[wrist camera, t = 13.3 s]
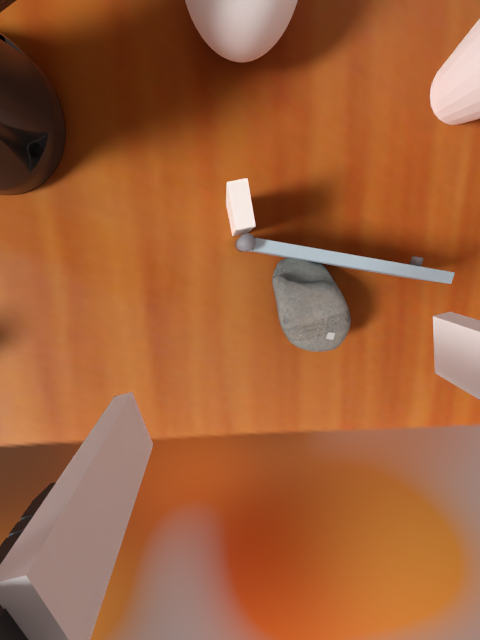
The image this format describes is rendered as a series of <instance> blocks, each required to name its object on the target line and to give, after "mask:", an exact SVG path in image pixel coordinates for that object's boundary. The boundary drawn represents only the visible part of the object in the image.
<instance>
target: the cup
mask: <svg viewBox="0 0 480 640" xmlns="http://www.w3.org/2000/svg"><path fill="white" fill-rule="evenodd" d="M430 102H431V107H432V109H433V112H434V114H435V115H436V116H437V118H438V119H439V120H441V121H442V122H444V123H446V124H450V125H457V124H462V123H466V122H469V121H473V120H477V119H480V19H479V20H478V21H477V22H476V24H475V25H474V26H473V28H472V29H471V30H470V31H469V33H468V34H467V35H466V36H465V38H464V39H463V40H462V41H461V43H460V44H459V45H458V47H457V48H456V49H455V50H454V52H453V53H452V54H451V55H450V57H449V58H448V59H447V60H446V62H445V63H444V64H443V65H442V67H441V68H440V69H439V71H438V72H437V74H436V76H435V77H434V79H433V82H432V86H431V89H430Z"/></svg>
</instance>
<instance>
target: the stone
mask: <svg viewBox="0 0 480 640" xmlns="http://www.w3.org/2000/svg"><path fill="white" fill-rule="evenodd" d="M272 284H273V289H274V293H275V298H276V303H277V310H278V316H279V321H280V325H281V327H282V329H283V332H284V334H285V335H286V337H287V338H288V340H289V341H290V342H291V343H292V344H294V345H295V346H297V347H299V348H301V349H304V350H308V351H316V352H319V351H329V350H333V349H335V348H337V347H338V346H339V345H340V344H341V343H342V342H343V340H344V339H345V337H346V336H347V333H348V331H349V329H350V324H351V317H350V313H349V309H348V306H347V303H346V301H345V299H344V297H343V295H342V293H341V291H340V290H339V288H338V286H337V285H336V283H335V281H334V280H333V278H332V277H331V275H330V273H329V272H328V270H327V269H326V268H325V266H323V265H322V264H320V263H316V262H310V261H305V260H299V259H292V258H286V259H283V260H281V261H280V262H279V263H278V264H277V267H276V269H275V271H274V274H273V278H272Z"/></svg>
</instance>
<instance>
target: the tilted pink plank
mask: <svg viewBox="0 0 480 640" xmlns="http://www.w3.org/2000/svg"><path fill="white" fill-rule="evenodd" d="M226 206H227V211H228V216H229V221H230V226H231V231H232V237H233V236H238V235H243V234H247V233H248V232H249V231H251V230H252V229H253V228H254V227H255V226H256V225H255V219H254V213H253V207H252V202H251V196H250V190H249V184H248V179H247V178H245V179H240V180H235V181H230V182H227V189H226Z"/></svg>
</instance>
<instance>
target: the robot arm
mask: <svg viewBox="0 0 480 640" xmlns="http://www.w3.org/2000/svg"><path fill="white" fill-rule="evenodd" d="M15 1H16V0H0V12H1V11H3V10H4V9H5V8H7V7H8V6H10V5H11V4H12V3H14V2H15ZM64 142H65V123H64V117H63V112H62V108H61V105H60V102H59V99H58V97H57V94H56V92H55V90H54V88H53V86H52V85H51V83H50V81H49V80H48V78H47V77H46V75H45V74H44V73H43V71H42V70H41V69H40V68H39V67H38V66H37V65H36V63H35V62H34V61H33V60H32V59H31V58H30V57H29V56H28V55H27V54H26V53H25V52H24V51H23V50H22V49H21V48H19V47H18V46H17V45H16V44H15V43H14V42H13V41H11V40H10V39H9V38H7V37H6V36H5V35H3V34H2V33H0V195H16V194H21V193H25V192H28V191H30V190H33V189H35V188H36V187H38V186H40V185H41V184H42V183H44V182H45V181H46V180H47V179H48V178H49V177H50V176H51V175H52V173H53V172H54V170H55V169H56V167H57V165H58V163H59V161H60V159H61V156H62V153H63V148H64ZM433 332H434V358H435V373H436V374H437V375H439V376H441V377H442V378H444V379H446V380H447V381H449V382H451V383H452V384H454V385H456V386H457V387H459V388H461V389H462V390H464V391H466V392H467V393H469V394H471V395H473V396H474V397H476V398H478V399H479V400H480V320H477V319H473V318H470V317H466V316H463V315H460V314H456V313H453V312H447V313H443V314H439V315H435V316H433ZM152 447H153V443H152V441H151V438H150V436H149V433H148V430H147V428H146V425H145V423H144V420H143V418H142V415H141V413H140V410H139V408H138V405H137V403H136V400H135V398H134V395H133V393H132V392H130V393H126V394H122V395H119V396H115V397H114V398H113V399H112V401H111V402H110V404H109V405H108V407H107V408H106V410H105V411H104V413H103V414H102V416H101V417H100V419H99V420H98V422H97V423H96V425H95V426H94V427H93V429H92V430H91V432H90V433H89V435H88V436H87V438H86V439H85V441H84V442H83V444H82V445H81V447H80V448H79V450H78V451H77V453H76V454H75V455H74V457H73V458H72V460H71V461H70V463H69V464H68V466H67V467H66V469H65V470H64V472H63V473H62V475H61V476H60V478H59V479H58V481H57V482H55V483H51V484H50V485H49V486H48V487H47V488H46V489H45V490H44V491H42V492H41V493H40V494H39V495H38V496H37V497H36V498H35V499H34V500H33V501H32V503H31V504H30V506H29V507H28V508H27V510H26V511H25V513H24V514H23V515H22V517H21V518H20V519H21V520H20V522H17V524H16V525H15V526H14V528H13V529H12V531H11V532H10V533H9V537H8V538H6V539H5V540H4V542H3V543H2V544H1V546H0V640H90V638H91V635H92V632H93V629H94V626H95V623H96V620H97V617H98V614H99V611H100V608H101V605H102V601H103V598H104V595H105V592H106V589H107V586H108V583H109V580H110V577H111V574H112V571H113V567H114V564H115V561H116V558H117V555H118V552H119V549H120V546H121V542H122V540H123V537H124V533H125V530H126V527H127V524H128V521H129V518H130V515H131V512H132V509H133V505H134V503H135V500H136V496H137V493H138V490H139V487H140V484H141V481H142V478H143V475H144V472H145V469H146V465H147V462H148V459H149V456H150V453H151V450H152Z"/></svg>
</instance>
